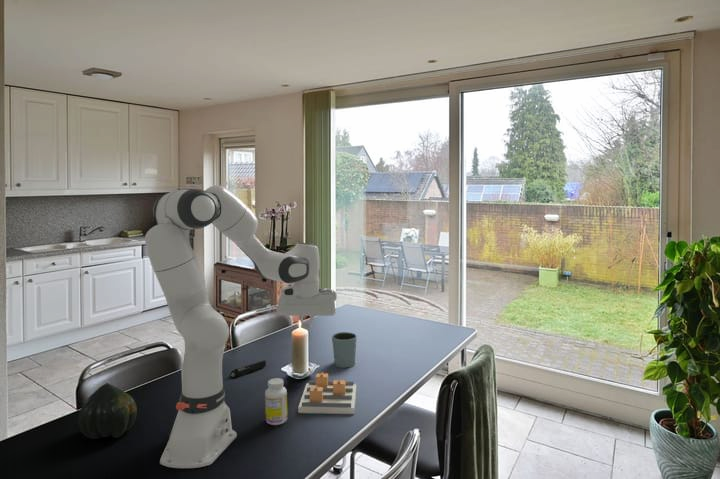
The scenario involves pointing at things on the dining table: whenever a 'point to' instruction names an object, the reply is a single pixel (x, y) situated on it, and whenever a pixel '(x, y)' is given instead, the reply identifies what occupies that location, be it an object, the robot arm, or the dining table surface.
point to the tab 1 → (322, 380)
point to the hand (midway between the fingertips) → (306, 327)
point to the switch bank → (329, 400)
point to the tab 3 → (339, 387)
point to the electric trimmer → (247, 369)
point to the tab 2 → (316, 394)
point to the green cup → (344, 349)
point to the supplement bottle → (276, 402)
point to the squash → (107, 413)
